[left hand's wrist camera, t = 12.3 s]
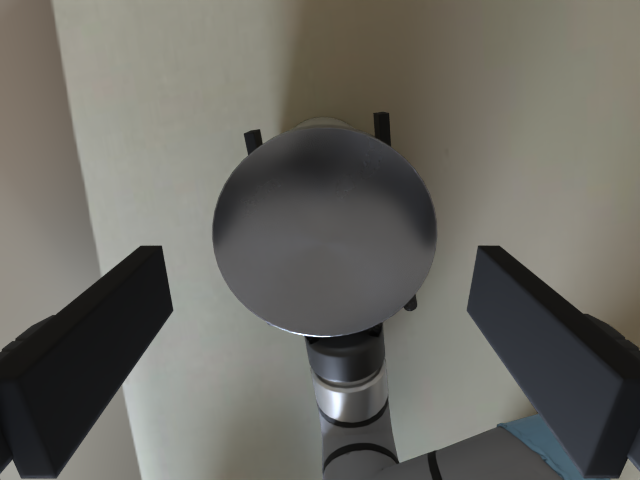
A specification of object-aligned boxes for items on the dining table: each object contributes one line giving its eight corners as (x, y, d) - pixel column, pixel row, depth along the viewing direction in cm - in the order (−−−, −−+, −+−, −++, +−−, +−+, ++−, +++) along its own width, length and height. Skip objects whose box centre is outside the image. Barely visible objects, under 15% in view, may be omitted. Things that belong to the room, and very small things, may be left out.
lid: (180, 223, 18) (165, 237, 16) (332, 72, 15) (334, 69, 13) (317, 347, 20) (317, 369, 19) (466, 237, 18) (482, 251, 16)
